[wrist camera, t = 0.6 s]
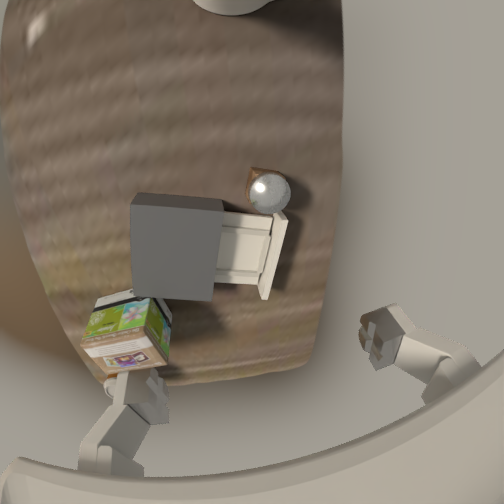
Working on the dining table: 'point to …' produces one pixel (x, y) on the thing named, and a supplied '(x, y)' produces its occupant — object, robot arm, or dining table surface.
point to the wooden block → (254, 173)
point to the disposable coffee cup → (110, 385)
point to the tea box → (128, 332)
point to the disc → (269, 192)
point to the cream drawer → (250, 249)
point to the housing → (174, 245)
